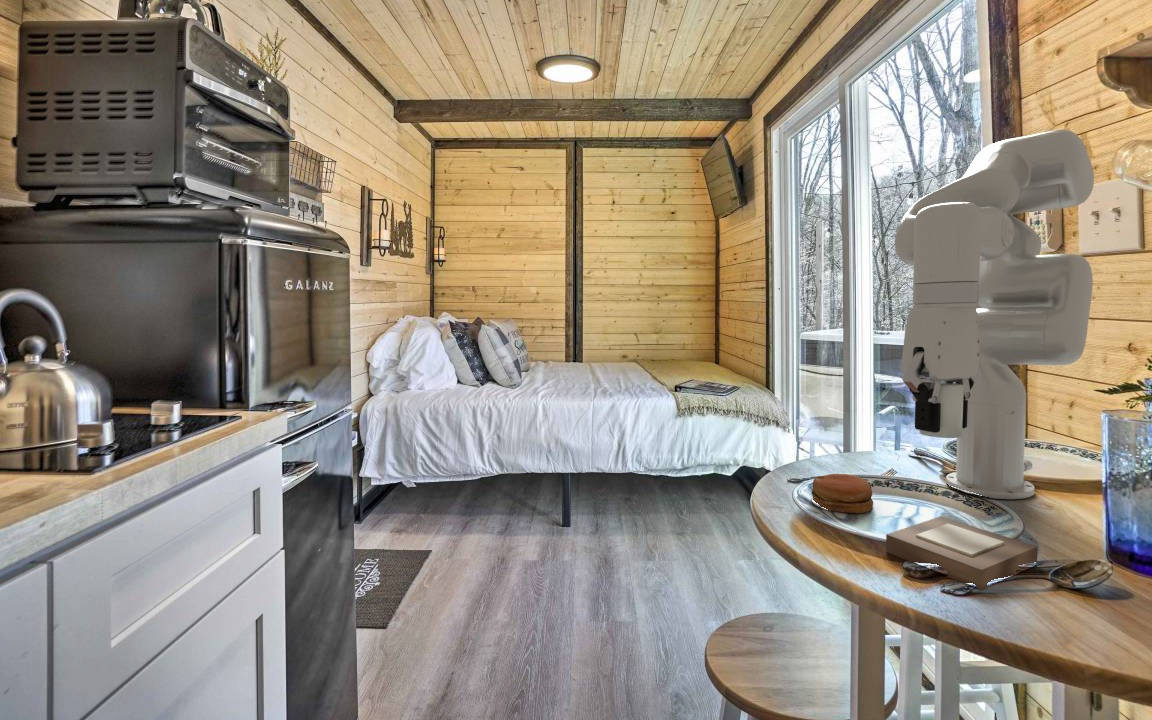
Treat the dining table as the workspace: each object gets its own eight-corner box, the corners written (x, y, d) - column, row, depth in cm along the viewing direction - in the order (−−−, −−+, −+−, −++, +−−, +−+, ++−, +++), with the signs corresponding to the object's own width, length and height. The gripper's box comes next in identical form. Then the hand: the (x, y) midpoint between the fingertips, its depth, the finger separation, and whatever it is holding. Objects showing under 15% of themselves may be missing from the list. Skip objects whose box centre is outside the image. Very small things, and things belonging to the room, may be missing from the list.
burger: (882, 515, 90) (882, 487, 89) (821, 515, 91) (821, 487, 91) (859, 494, 100) (859, 468, 99) (804, 495, 101) (804, 469, 100)
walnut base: (940, 532, 82) (941, 514, 82) (1036, 565, 72) (1037, 544, 71) (886, 551, 77) (886, 532, 77) (981, 590, 66) (981, 567, 66)
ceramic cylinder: (934, 429, 82) (935, 381, 81) (970, 435, 77) (972, 384, 77) (911, 432, 80) (912, 383, 79) (946, 439, 75) (948, 387, 75)
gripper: (956, 298, 84) (952, 419, 85) (876, 298, 77) (873, 430, 78) (1012, 295, 77) (1007, 427, 78) (930, 296, 70) (926, 440, 72)
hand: (940, 427), depth 78 cm, fingers closed on ceramic cylinder, 5 cm apart
